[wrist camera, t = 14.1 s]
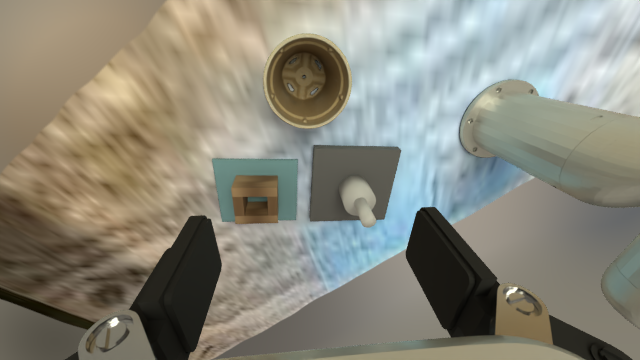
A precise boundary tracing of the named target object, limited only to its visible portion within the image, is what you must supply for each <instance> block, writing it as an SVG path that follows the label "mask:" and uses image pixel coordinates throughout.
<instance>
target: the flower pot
mask: <svg viewBox="0 0 640 360" xmlns="http://www.w3.org/2000/svg"><path fill="white" fill-rule="evenodd" d="M294 58H297V60H295V63H292V64H290V62H291V61H292V60H293V59H294ZM315 60H317V61H319V63H320V64H321V69H319V67H318V65H317V64H316V63H315ZM303 75H305V76H306V78H303ZM288 83H290V84H291V86H292V87H293V89H294V91H290V89H289V87H288V85H287V84H288ZM263 85H264V92H265V96H266V99H267V101H268V103H269V105H270V107H271V108H272V110H273V111H274V112H275V114H276V115H277V116H278V117H279V118H280V119H282V120H283V121H285V122H286V123H288V124H290V125H292V126H295V127H298V128H306V129H311V128H318V127H321V126H323V125H326V124H328V123H329V122H331V121H332V120H334V119H335V118H336V117H337V116H338V115H339V114H340V113H341V112H342V110H343V109H344V107H345V106H346V104H347V102H348V99H349V96H350V93H351V87H352V76H351V70H350V67H349V64H348V62H347V60H346V57H345V56H344V54H343V53H342V51H341V50H340V49H339V48H338V47H337V46H336V45H335V44H334V43H333V42H331V41H330V40H328V39H326V38H324V37H322V36H319V35H315V34H298V35H295V36H292V37H290V38H288V39H286V40H284V41H283V42H281V43H280V44H279V45H278V46H277V47H276V48H275V49H274V50H273V52H272V53H271V55H270V56H269V58H268V60H267V63H266V66H265V69H264V76H263ZM316 88H318V89H317V91H316V92H315V93H314V94H313V95H311V92H312V91H313V90H315V89H316Z"/></svg>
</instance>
